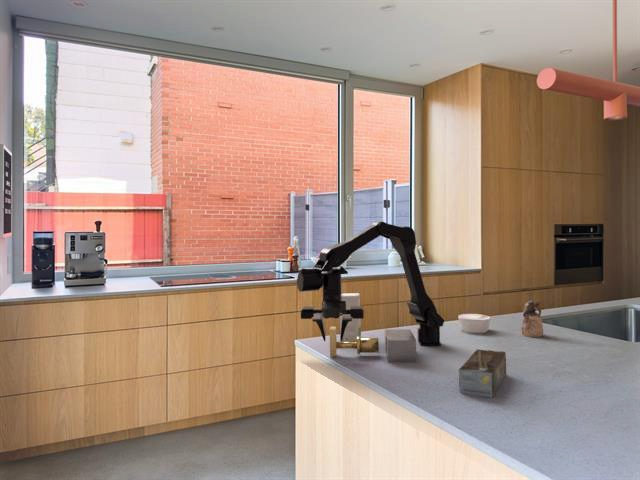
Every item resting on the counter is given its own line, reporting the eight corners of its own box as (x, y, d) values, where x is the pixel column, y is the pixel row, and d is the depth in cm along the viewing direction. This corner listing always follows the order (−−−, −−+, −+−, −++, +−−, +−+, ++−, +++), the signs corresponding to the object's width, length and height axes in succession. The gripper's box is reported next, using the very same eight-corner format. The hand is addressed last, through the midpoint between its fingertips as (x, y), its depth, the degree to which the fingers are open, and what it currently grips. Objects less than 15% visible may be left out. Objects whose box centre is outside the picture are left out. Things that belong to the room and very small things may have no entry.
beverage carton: (457, 393, 111) (457, 365, 111) (475, 371, 128) (475, 346, 128) (493, 399, 107) (492, 370, 107) (507, 375, 124) (507, 350, 124)
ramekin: (495, 334, 169) (494, 319, 169) (463, 334, 169) (463, 319, 169) (484, 327, 180) (484, 313, 180) (454, 327, 180) (454, 313, 180)
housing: (410, 349, 150) (410, 329, 150) (416, 362, 136) (416, 340, 136) (384, 349, 150) (384, 329, 150) (387, 362, 136) (387, 340, 136)
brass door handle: (378, 352, 146) (377, 326, 146) (378, 356, 141) (378, 329, 141) (330, 352, 147) (330, 326, 147) (330, 356, 142) (329, 330, 142)
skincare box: (358, 342, 160) (357, 296, 160) (339, 341, 162) (338, 295, 161) (361, 336, 169) (360, 292, 168) (342, 336, 170) (342, 292, 169)
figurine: (525, 331, 171) (525, 298, 171) (546, 334, 166) (546, 300, 166) (517, 335, 166) (517, 300, 166) (538, 338, 161) (538, 303, 161)
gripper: (297, 293, 137) (299, 347, 137) (363, 293, 135) (364, 347, 136) (302, 288, 148) (303, 338, 148) (362, 287, 146) (363, 338, 147)
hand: (332, 340), depth 144 cm, fingers open, 5 cm apart
